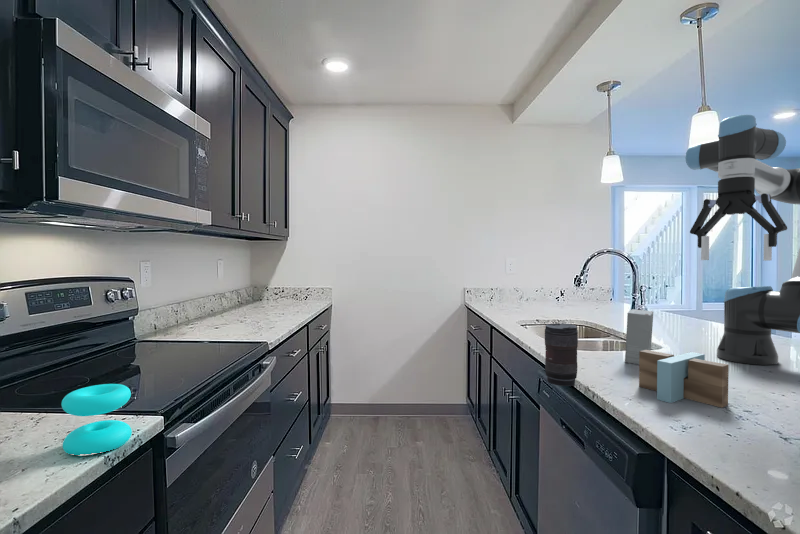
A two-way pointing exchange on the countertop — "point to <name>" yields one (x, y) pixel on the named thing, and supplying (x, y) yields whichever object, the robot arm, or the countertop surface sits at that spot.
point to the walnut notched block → (689, 378)
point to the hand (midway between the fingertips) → (734, 260)
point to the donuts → (101, 432)
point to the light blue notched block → (673, 376)
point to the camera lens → (561, 353)
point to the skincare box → (638, 334)
